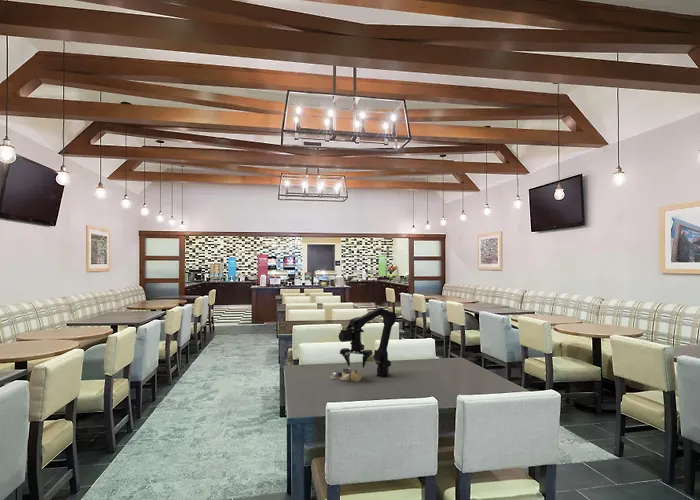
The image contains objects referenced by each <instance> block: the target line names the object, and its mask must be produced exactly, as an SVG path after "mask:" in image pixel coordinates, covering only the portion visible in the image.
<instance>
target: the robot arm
mask: <svg viewBox="0 0 700 500" xmlns="http://www.w3.org/2000/svg"><path fill="white" fill-rule="evenodd" d="M379 316H380V317H382V322H383V329H382V332H381V338H380V340H379V341H380V342H379V345H378V346H379V347H378V348H377V349H375V350H374V352H373V350H372V349H365V345H364V344H363V343H362V340H361V339H362V333H364V332H365V330H363V327H364V326H365V325H366V324H367V323H368V322H370V321H372V320H374V319H376V318H378V317H379ZM397 318H398V315H397V314H396V312H395V311H391V310H390V311H389V310H386V309H385V308H383V307H376V308H375V309H373V310H372V311H369V312H367V313H366V314H363V315H360V316H355V317H353V318H350V320H349V323H348V325H347V327H346V328H345V329H340V332H339V333H338V340H339V341H340V342H341V343H342V342H343V343H344V342H350V343H349V344H350V347H351V348H348V347H345V348H344V347H343V348H341V349H340V350H339V354H340V355H341V356H343V358H344V360H345V362H346V364H347V366H348V367H350V366H351V362H350V361H351V359H350V356H351V354H355V355H356V354H357V355H362V358H361V359H362V368H365V366H366V364H367V363H366V362H367V359H368V358H369V357H372V355H373V361H374V362H375V365H377V368H376V377H381V378H388V377H389V376H391V374H390V367H391V365H392V362H391V361H390V360H389V355H388V354H389V353H388V345H389V343H390V342H389V341H390V338H391V337H390V336H391V332H392V328H393V325H394V324H395V323H396V321H397Z"/></svg>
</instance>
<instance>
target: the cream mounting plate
mask: <svg viewBox="0 0 700 500" xmlns="http://www.w3.org/2000/svg"><path fill="white" fill-rule="evenodd" d="M341 372H342V377H338V378H336V377H332V376H331V375H330V376H329V379H330V380H331V379H332V380H339V381H340V380H341V381H351V373H352V372H353V369H352V367H350V366H348V367H343V368H342V371H341Z"/></svg>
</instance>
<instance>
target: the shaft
mask: <svg viewBox="0 0 700 500" xmlns="http://www.w3.org/2000/svg"><path fill="white" fill-rule="evenodd" d="M342 372H343V371H341V370H335V371H333V372H332V373H331V374H330V377H331V376H332V377H336V378H338V377H342Z"/></svg>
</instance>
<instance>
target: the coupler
mask: <svg viewBox="0 0 700 500" xmlns="http://www.w3.org/2000/svg"><path fill="white" fill-rule="evenodd" d="M350 381H352V382H353V381H354V382H359V381H362V371H359V370H358V369H354V370H352V373H351V379H350Z"/></svg>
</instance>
